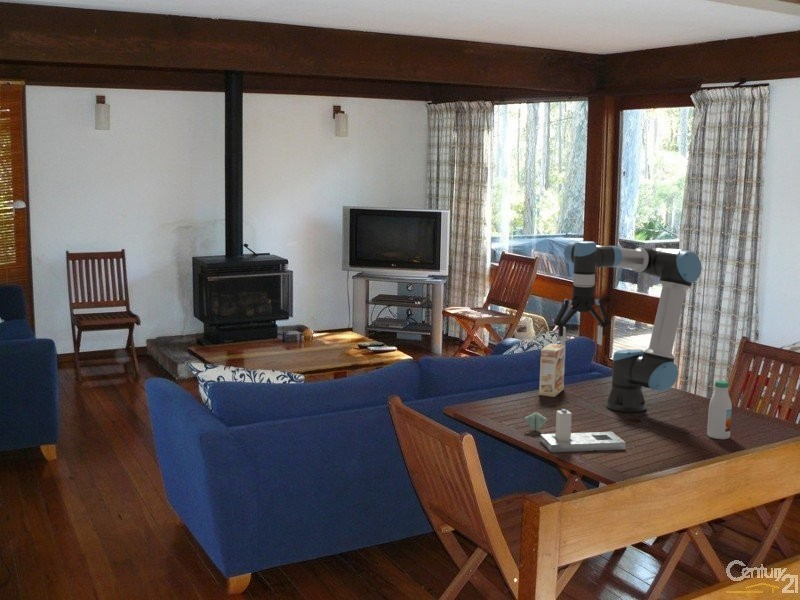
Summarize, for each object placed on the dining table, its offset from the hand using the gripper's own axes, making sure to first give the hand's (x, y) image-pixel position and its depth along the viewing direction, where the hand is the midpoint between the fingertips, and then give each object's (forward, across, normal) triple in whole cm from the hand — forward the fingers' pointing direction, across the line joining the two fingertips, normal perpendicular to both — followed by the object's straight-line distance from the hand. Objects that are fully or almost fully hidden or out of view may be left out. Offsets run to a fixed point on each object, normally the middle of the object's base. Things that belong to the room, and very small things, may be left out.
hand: (581, 344), depth 316 cm
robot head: (+32, +15, -2) cm, 35 cm away
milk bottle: (+32, -48, +12) cm, 59 cm away
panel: (+32, +4, +16) cm, 36 cm away
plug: (+32, +11, +16) cm, 37 cm away
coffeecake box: (+32, -8, -54) cm, 63 cm away
